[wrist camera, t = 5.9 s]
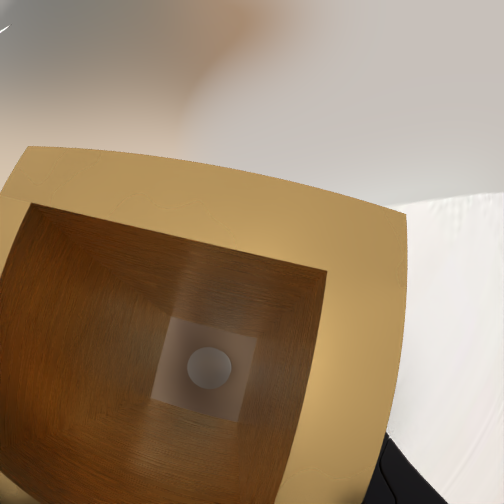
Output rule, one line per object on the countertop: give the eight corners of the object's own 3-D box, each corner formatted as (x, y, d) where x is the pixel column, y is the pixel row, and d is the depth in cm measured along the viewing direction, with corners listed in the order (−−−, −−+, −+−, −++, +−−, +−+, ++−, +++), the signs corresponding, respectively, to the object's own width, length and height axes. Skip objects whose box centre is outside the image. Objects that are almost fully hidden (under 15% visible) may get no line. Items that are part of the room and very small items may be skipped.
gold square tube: (283, 321, 12) (405, 213, 3) (254, 445, 10) (299, 609, 1) (157, 290, 13) (28, 146, 3) (127, 409, 10) (-47, 459, 1)
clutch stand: (270, 270, 22) (283, 238, 16) (314, 417, 18) (343, 436, 12) (6, 328, 18) (-36, 314, 12) (30, 448, 14) (-10, 459, 8)
